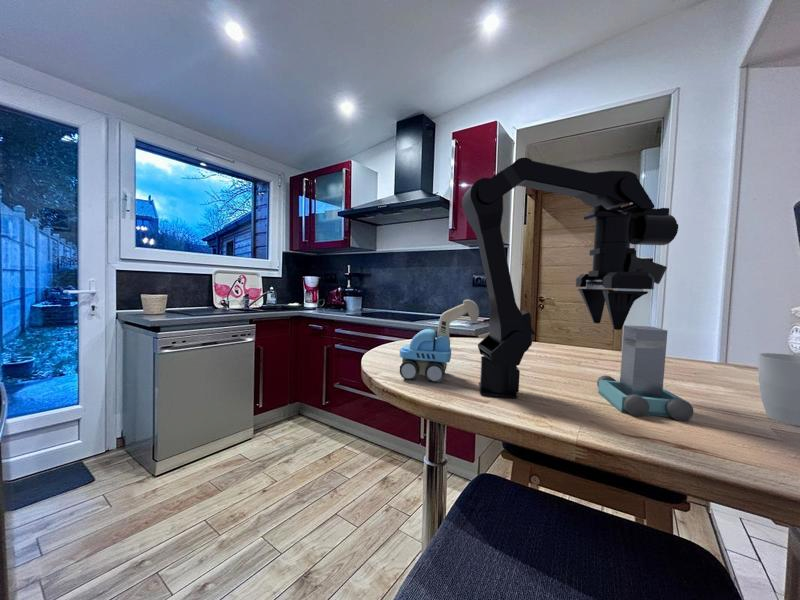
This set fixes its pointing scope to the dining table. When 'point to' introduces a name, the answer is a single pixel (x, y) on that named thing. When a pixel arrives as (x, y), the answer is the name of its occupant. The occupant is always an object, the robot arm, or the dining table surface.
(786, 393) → the cup
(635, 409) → the chassis
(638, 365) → the grey tall block
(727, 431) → the dining table surface
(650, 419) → the dining table surface
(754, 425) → the dining table surface
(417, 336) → the toy excavator
